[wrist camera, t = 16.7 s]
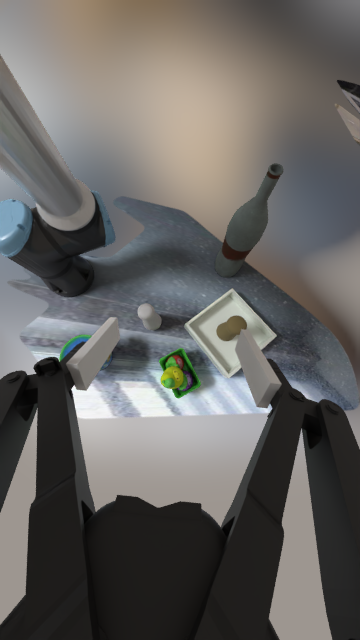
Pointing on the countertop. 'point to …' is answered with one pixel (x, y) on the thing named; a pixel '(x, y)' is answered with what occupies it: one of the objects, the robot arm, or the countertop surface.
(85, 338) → the snack cup
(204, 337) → the bin
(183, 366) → the fruit basket
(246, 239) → the bottle
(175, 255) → the countertop surface
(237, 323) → the cork
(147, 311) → the salt shaker
